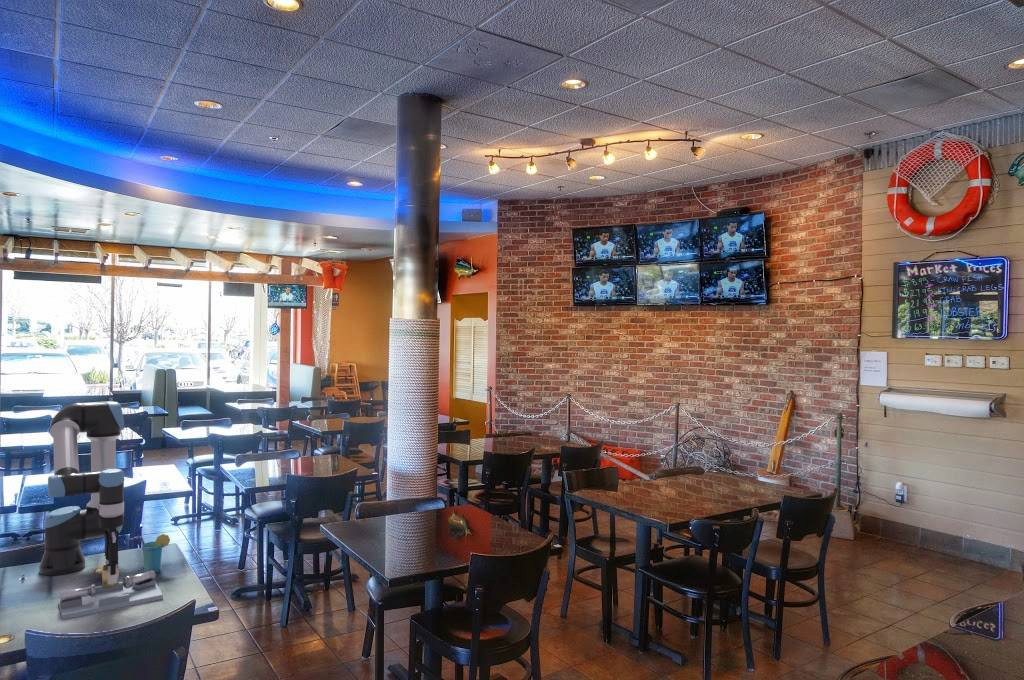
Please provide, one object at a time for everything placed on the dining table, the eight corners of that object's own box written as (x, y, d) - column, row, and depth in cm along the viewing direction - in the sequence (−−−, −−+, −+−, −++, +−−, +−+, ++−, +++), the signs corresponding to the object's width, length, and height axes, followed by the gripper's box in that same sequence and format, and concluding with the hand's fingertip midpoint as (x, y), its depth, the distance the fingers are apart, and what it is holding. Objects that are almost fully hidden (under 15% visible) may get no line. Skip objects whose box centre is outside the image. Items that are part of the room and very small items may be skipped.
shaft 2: (122, 590, 249) (122, 575, 249) (149, 582, 257) (149, 567, 257) (129, 594, 246) (129, 578, 246) (157, 585, 255) (157, 570, 255)
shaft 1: (59, 600, 236) (59, 588, 236) (94, 594, 242) (94, 582, 242) (60, 605, 233) (60, 592, 233) (95, 598, 239) (95, 586, 239)
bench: (58, 603, 241) (58, 593, 240) (154, 585, 259) (154, 575, 258) (62, 619, 229) (62, 608, 228) (162, 598, 247) (162, 588, 246)
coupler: (101, 584, 244) (101, 563, 243) (117, 582, 247) (117, 561, 246) (102, 589, 240) (103, 568, 239) (119, 586, 243) (119, 565, 242)
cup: (131, 578, 264) (131, 539, 264) (127, 572, 270) (127, 534, 270) (171, 571, 273) (172, 533, 272) (167, 565, 279) (167, 528, 278)
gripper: (95, 510, 247) (95, 575, 248) (102, 522, 233) (102, 591, 234) (119, 507, 252) (119, 570, 253) (127, 519, 238) (127, 586, 238)
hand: (111, 580), depth 243 cm, fingers closed on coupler, 5 cm apart
